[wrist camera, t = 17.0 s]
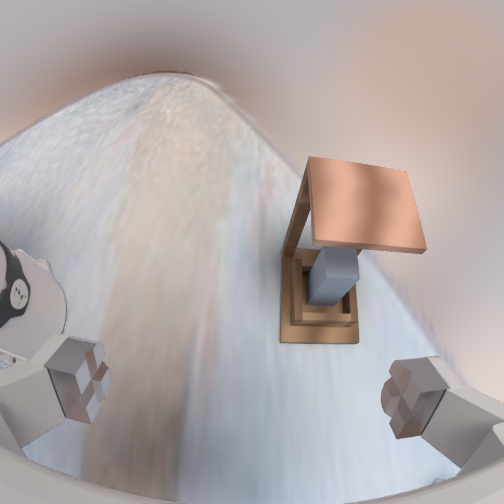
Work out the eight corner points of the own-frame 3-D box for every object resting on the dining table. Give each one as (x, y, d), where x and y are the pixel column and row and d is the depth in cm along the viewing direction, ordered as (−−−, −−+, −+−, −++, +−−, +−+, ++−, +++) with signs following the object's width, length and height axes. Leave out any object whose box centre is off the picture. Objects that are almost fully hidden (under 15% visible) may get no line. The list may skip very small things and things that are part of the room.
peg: (306, 305, 43) (326, 276, 34) (305, 278, 45) (324, 244, 36) (334, 306, 43) (359, 278, 34) (332, 280, 45) (356, 247, 36)
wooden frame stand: (280, 342, 41) (317, 290, 24) (281, 250, 48) (308, 156, 30) (356, 343, 42) (435, 294, 24) (350, 255, 48) (406, 171, 30)
